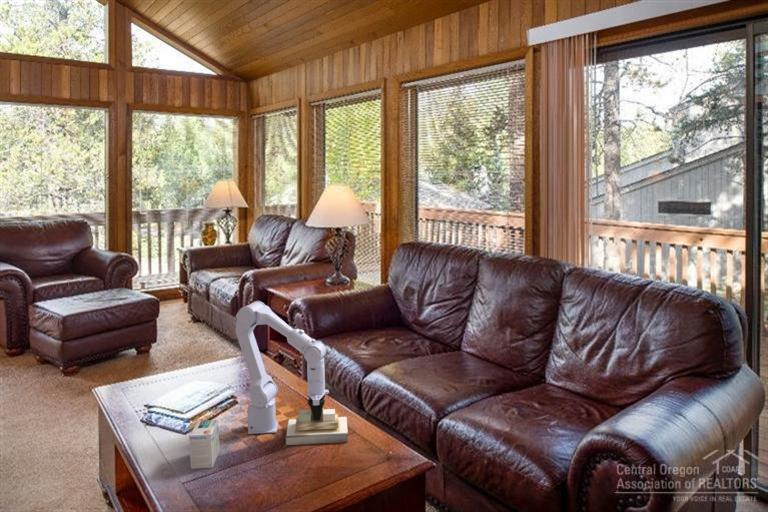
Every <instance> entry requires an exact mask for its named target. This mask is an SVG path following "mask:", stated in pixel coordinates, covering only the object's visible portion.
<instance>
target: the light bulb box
mask: <svg viewBox="0 0 768 512" xmlns="http://www.w3.org/2000/svg"><path fill="white" fill-rule="evenodd" d="M219 436H220V435H219V420H218V419H211V420H210V419H209V420H196V421H195V424H194V427H193V428H192V431H191V432H190V434H189V436H188V440H189V457H190V469H213V467H214V465H215V462H216V460H217V457H218V456H219V454H220V453H219V452H220V437H219Z"/></svg>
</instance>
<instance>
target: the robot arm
mask: <svg viewBox="0 0 768 512" xmlns="http://www.w3.org/2000/svg"><path fill="white" fill-rule="evenodd" d="M236 313H237V314H236V315H235V318H236V323H235V335H236V338H237V340H238V344H239V346H240V349H241V352H242V356H243V358H244V362H245V365H246V368H247V372H248V374H249V377H250V384H249V389H248V390H249V392H250V395H249V399H250V402H251V403H250V404H248V406H247V417H246V418H247V434H249V435H255V434H276V433H277V431H278V427H279V421H277V416H276V415H277V413H276V399H275V398H276V396H278V395H277V394H278V393H279V389H278V386H277V384H276V383H275V382H274V380H273V378H272V376H270V375H269V374H268V373H267V371H266V370H267V369H266V368H265V365H264V361H263V359H262V356H261V352H260V350H259V347H258V346H259V345H258V343H257V339H256V337H255V334H254V330H255V328H256V326H259V325H260V326H261V325H263V326H264V325H267V326H269V327H271V329H273V330H274V331H276V332H278V333H280V334H281V335H282V336H284V337H286V340H287V343H288V344H289V345H290V346H292V347H293V348H295V350H297V351H299V352H300V353H301V354H302V355H303V358H304V360H305V361H306V365H307V366H306V369H307V370H306V373H307V374H306V375H307V391H306V394H307V397H308V399H307V403H308V406H309V408H310V410H312V414H313V418H314V420H320V418H321V412H322V408H323V409H324V405H325V403H326V399H325V397H326V395H327V394H328V395H329V393H330V391H329V389H326V379H325V378H326V376H325V375H326V373H325V372H326V371H325V365H326V364H325V357H324V356H326V354H327V347H326V345H325V343H323V341H321V340H316V339H315V338H312V337H310V336H309V335H308V334H307V333H305V329H304V330H303V329H299V328H293V327H291V326H290V325H289V324H287V323H286V321H284V320H283V319H282V318H281V317H279V316H278V315H277V314H276V313H275V312H274V311H273V310H272V309H271V308H270V306H268V305H266V304H265V303H264V302H262V301H260V300H256V301H255V300H254V301H253V302H252V303H250V304H248V305H245V306H243V307H241V308H240V309H239V310H238V312H236Z"/></svg>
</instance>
